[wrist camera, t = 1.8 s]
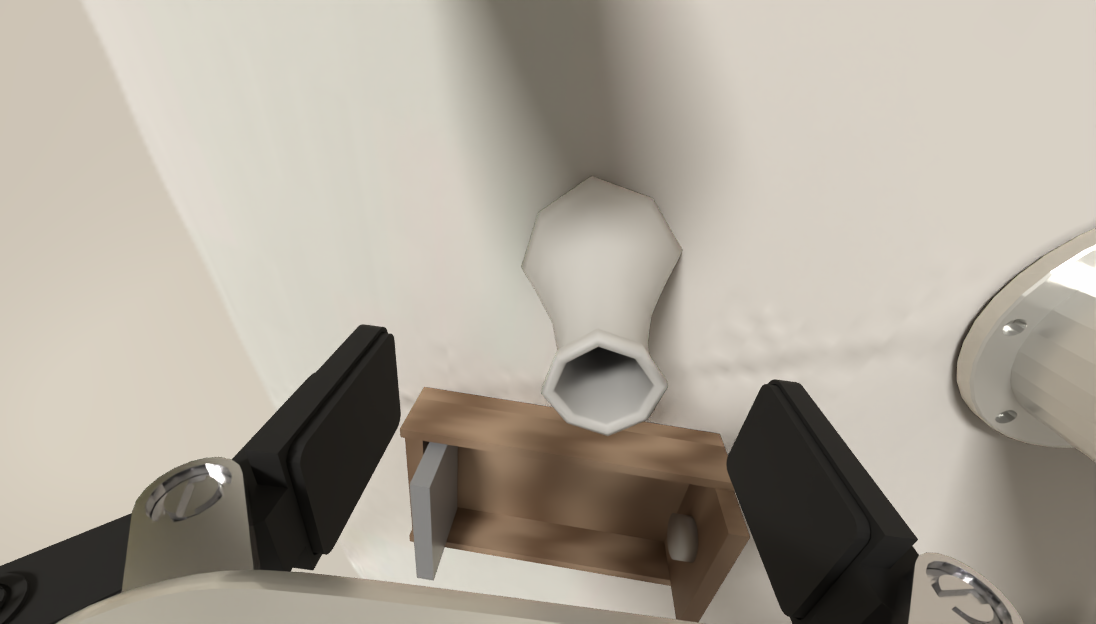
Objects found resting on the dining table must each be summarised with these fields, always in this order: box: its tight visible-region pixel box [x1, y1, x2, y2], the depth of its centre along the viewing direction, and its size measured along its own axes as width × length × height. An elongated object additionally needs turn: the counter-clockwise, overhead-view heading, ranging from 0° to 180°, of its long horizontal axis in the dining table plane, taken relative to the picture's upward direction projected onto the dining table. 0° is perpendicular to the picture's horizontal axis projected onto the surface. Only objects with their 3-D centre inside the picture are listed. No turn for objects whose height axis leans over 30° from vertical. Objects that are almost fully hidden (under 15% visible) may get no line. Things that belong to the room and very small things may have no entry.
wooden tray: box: [400, 387, 750, 623], centre depth 24 cm, size 18×10×6 cm, turn 83°
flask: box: [521, 176, 682, 436], centre depth 15 cm, size 7×7×10 cm
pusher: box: [410, 442, 458, 581], centre depth 24 cm, size 1×8×5 cm, turn 174°
